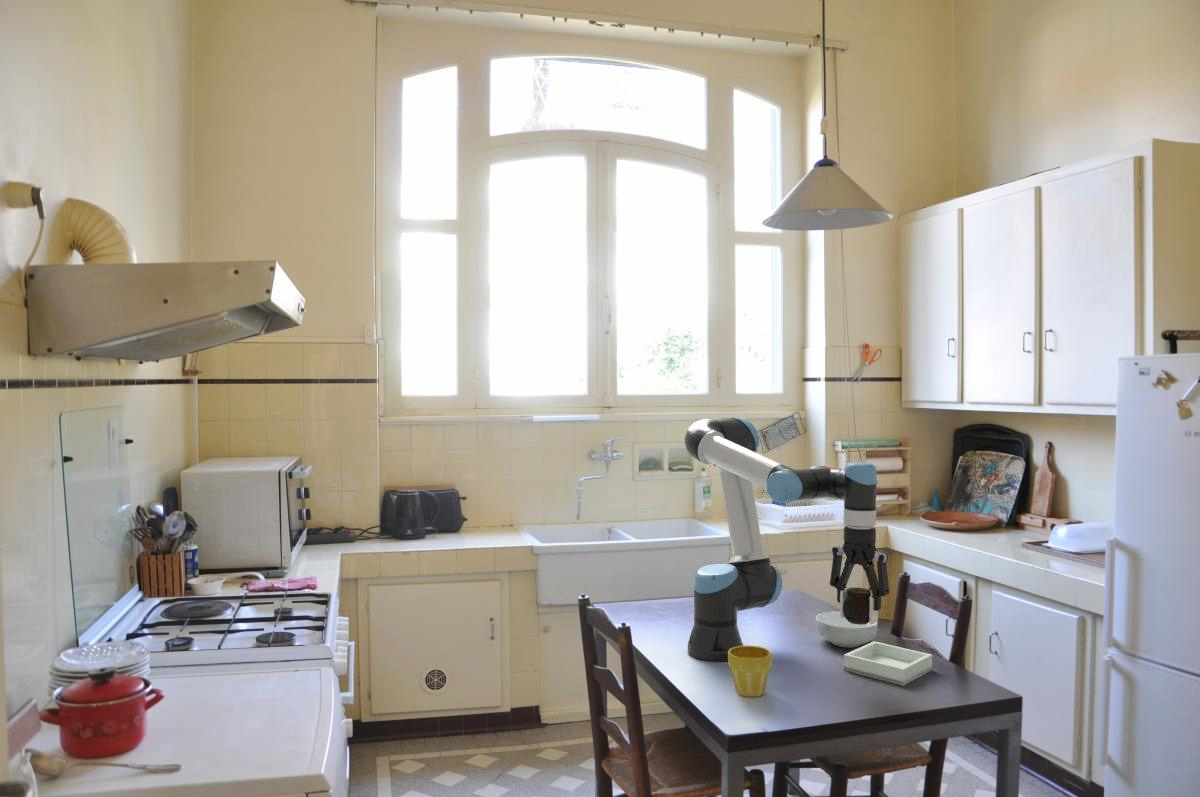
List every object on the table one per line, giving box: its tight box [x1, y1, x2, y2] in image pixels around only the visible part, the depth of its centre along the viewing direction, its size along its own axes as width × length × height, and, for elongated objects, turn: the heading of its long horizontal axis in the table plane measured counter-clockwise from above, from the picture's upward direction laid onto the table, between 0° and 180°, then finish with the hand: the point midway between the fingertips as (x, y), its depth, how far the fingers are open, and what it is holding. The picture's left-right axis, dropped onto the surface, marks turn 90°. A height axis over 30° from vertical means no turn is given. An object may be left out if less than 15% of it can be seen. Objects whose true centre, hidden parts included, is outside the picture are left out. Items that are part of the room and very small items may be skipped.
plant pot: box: [727, 645, 773, 698], centre depth 204 cm, size 10×10×10 cm
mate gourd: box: [843, 586, 872, 625], centre depth 209 cm, size 7×8×10 cm
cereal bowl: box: [815, 610, 879, 648], centre depth 242 cm, size 17×17×7 cm
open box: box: [843, 640, 933, 687], centre depth 219 cm, size 16×16×4 cm
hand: (858, 619), depth 209 cm, fingers closed on mate gourd, 7 cm apart
